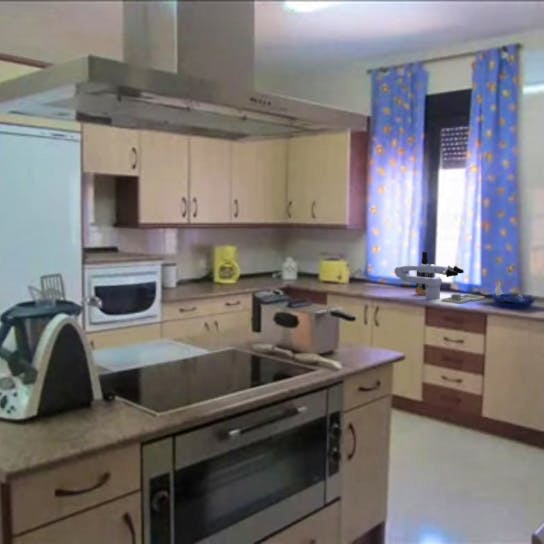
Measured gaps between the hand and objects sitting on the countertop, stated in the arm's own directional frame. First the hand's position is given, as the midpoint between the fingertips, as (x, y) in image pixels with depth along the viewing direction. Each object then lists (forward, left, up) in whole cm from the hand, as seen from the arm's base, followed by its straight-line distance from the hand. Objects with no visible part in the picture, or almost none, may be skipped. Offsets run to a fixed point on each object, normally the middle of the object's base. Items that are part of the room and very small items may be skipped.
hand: (460, 272), depth 411 cm
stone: (-2, -2, -20) cm, 20 cm away
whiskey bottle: (-38, +16, -21) cm, 46 cm away
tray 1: (-2, -2, -21) cm, 21 cm away
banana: (+25, +20, -21) cm, 38 cm away
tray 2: (+1, +12, -21) cm, 24 cm away
